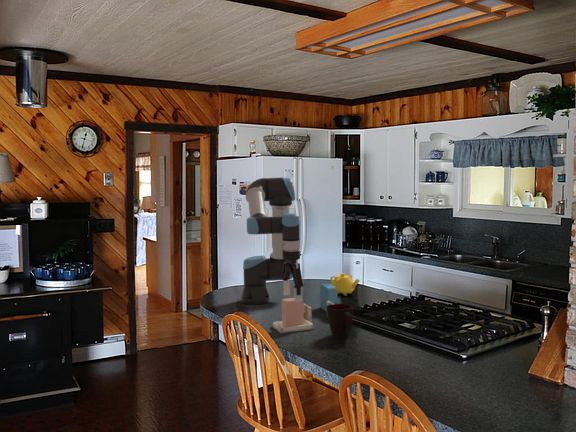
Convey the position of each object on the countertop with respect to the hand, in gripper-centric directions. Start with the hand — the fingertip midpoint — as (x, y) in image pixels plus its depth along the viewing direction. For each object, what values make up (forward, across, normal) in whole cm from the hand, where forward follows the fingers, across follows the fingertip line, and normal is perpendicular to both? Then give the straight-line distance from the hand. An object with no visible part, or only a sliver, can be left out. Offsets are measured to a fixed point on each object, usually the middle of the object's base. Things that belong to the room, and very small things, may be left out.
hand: (292, 298), depth 247 cm
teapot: (+14, -50, +50) cm, 72 cm away
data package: (+14, -21, +27) cm, 37 cm away
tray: (+13, +1, 0) cm, 13 cm away
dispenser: (+13, -7, +16) cm, 22 cm away
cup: (+13, +21, +14) cm, 28 cm away
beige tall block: (+12, +1, 0) cm, 12 cm away
